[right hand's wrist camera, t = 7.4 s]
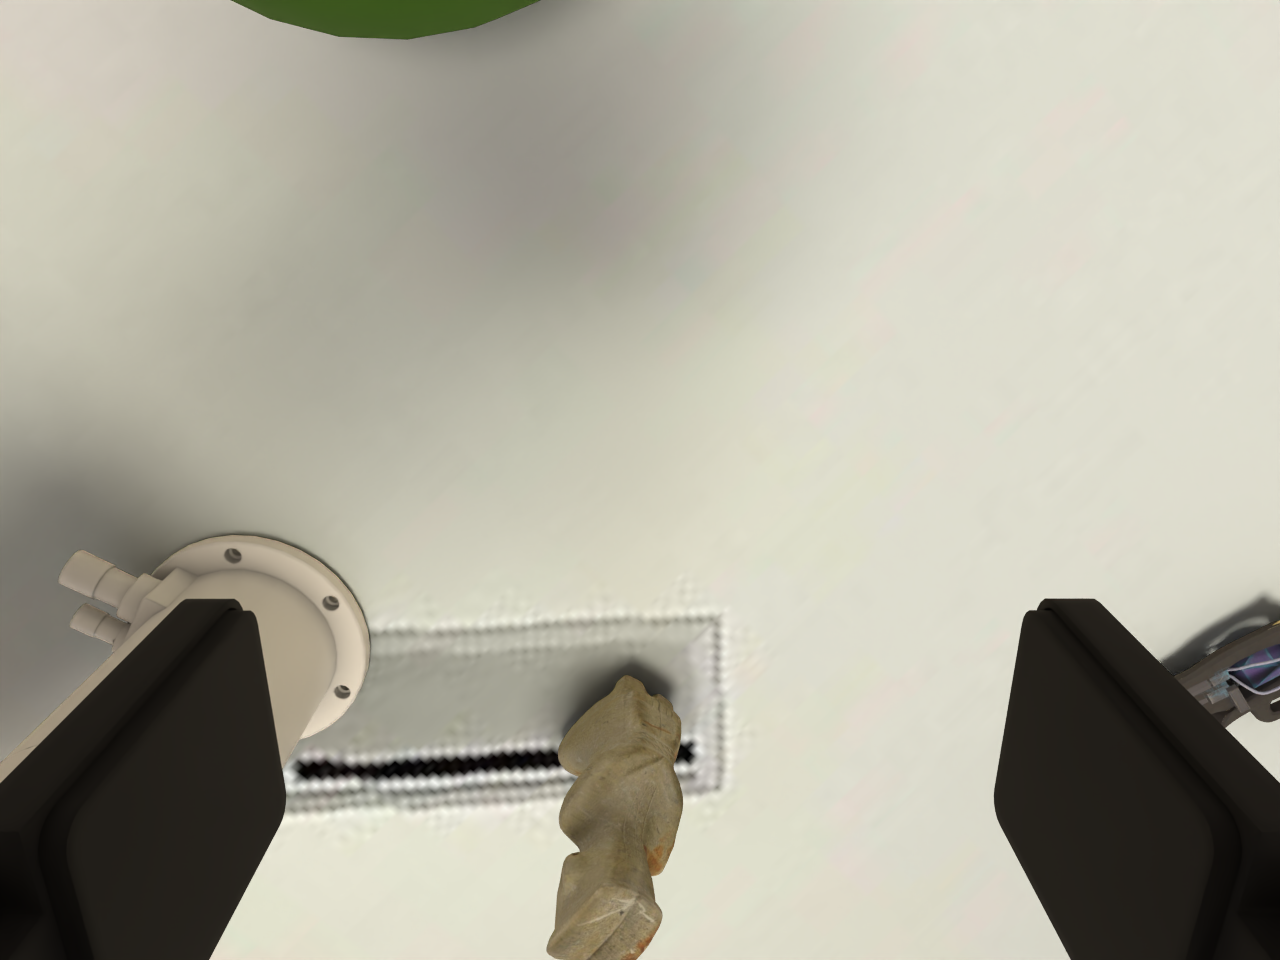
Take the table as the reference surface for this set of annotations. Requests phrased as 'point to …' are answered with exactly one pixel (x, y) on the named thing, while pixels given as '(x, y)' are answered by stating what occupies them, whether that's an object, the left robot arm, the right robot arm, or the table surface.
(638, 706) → the sculpture
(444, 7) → the vase
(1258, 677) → the toy gun
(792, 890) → the table surface
